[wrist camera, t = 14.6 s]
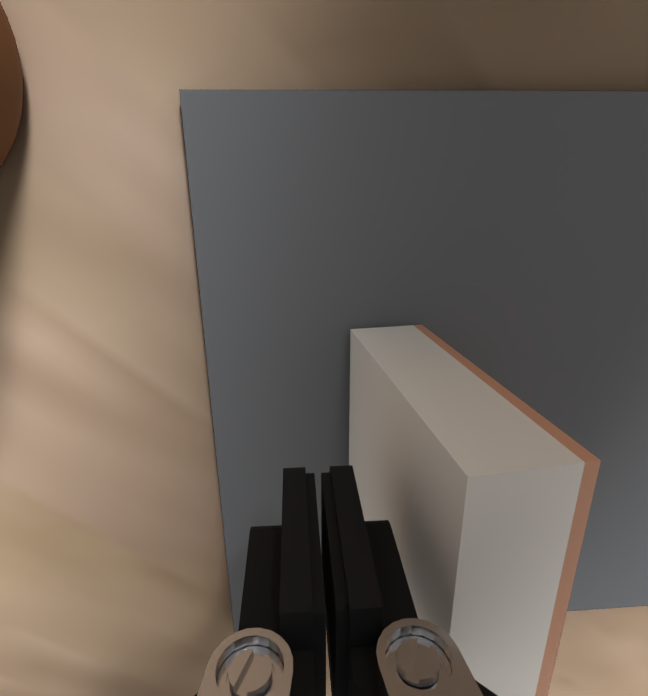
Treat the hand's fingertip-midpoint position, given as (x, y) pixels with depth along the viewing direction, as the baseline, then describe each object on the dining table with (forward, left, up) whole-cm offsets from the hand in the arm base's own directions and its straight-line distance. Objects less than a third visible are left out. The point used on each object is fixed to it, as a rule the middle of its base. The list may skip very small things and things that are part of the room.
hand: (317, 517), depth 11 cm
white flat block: (0, +3, -5) cm, 6 cm away
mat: (0, +7, -6) cm, 9 cm away
